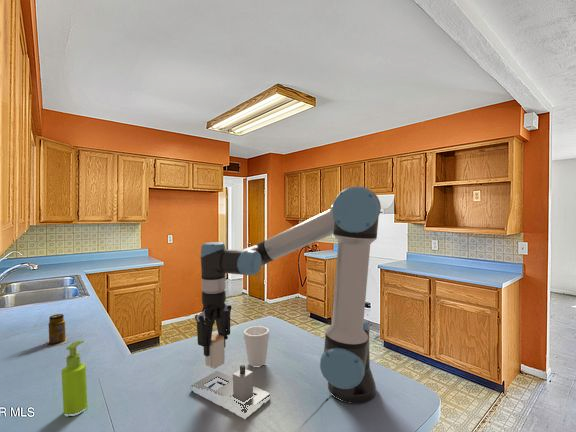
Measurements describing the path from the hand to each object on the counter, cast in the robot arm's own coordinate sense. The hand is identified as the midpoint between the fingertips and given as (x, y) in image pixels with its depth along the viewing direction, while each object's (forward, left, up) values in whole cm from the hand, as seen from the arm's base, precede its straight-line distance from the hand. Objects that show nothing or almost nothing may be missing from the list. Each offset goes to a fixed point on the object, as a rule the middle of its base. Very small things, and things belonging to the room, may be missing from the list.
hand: (215, 361), depth 102 cm
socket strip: (-6, 0, -10) cm, 12 cm away
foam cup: (0, -20, -10) cm, 22 cm away
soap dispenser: (+28, +30, -10) cm, 42 cm away
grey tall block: (-12, 0, -9) cm, 15 cm away
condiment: (+90, +15, -10) cm, 92 cm away
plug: (0, 0, -1) cm, 1 cm away
